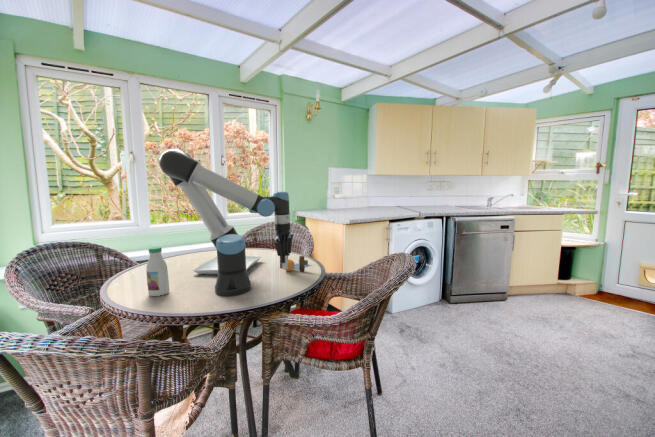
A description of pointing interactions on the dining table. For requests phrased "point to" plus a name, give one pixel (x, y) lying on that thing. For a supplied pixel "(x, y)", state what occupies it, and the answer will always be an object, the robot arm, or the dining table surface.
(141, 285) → the dining table surface
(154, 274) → the milk bottle
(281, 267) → the post left
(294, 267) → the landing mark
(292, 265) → the ball
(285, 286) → the dining table surface
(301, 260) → the post right
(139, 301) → the dining table surface
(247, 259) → the square plate
